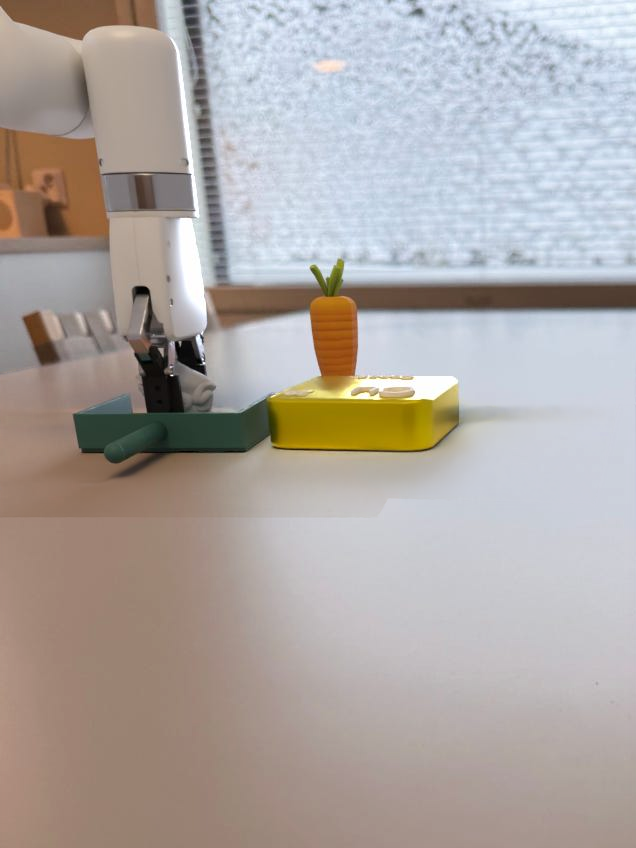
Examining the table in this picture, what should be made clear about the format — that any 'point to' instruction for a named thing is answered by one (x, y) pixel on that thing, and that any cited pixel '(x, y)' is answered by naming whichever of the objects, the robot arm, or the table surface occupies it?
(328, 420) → the element tile
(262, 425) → the scoop
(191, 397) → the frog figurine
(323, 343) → the carrot
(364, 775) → the table surface
